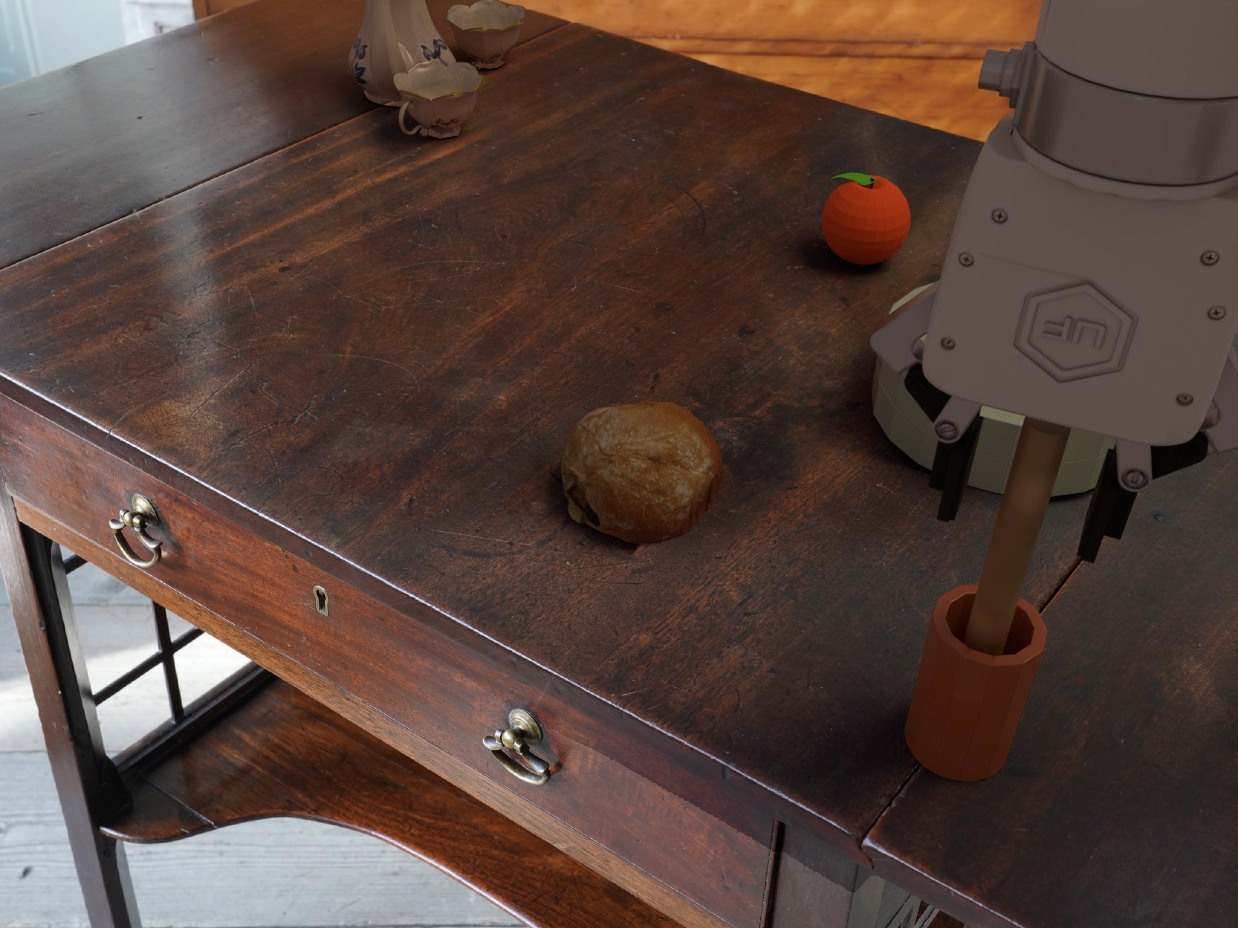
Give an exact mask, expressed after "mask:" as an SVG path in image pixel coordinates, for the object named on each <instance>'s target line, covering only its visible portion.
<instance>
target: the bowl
mask: <svg viewBox="0 0 1238 928" xmlns="http://www.w3.org/2000/svg"><path fill="white" fill-rule="evenodd" d="M935 282H936V281H935ZM935 282H931V283H928V284H926V285H921V286H919V287H916V288H914V289H913V290H911V291H910V292H909V293H907V294H906V295H904V296H903V297H901V298H900V299H899V300H897V301H896V302H895V303H893V304H892V305H891V308H890V310H889V312H888V314H887V315H889V314H890V313H892V312H893V311H895V310H896V309H897V308H899V307H900V306H902V305H903V304H905V303H906V302H908V301H909V300H910V299H912V298H913V297H915V296H916V295H918V294H919V293H920V292H922V291H923V290H925V289H926V288H928V287H929V286H931V285H932V284H933V283H935ZM926 336H927V334H926V335H924V336H923V337H921V338H920V339H921V340H922V342H923V343H924V344H925V342H926ZM946 342H947V341H946ZM950 344H951V343H950ZM871 399H872V400H871V401H872V402H871V403H872V411H873V413H872V414H873V416H874V417H875V419H876V420H877V422H878V424H879V426H880V427H881V429H882V430H883V432H884V434H885V435H886V437H887V439H888V440H889V441H890V442H891V443H892V444H894V445H895V446H896V447H897V448H898V449H899V450H900V451H902V452H903V453H904V454H906V456H908V457H909V458H910V459H912V461H914V462H915V463H916V464H918V465H920V466H921V467H923V468H925V469H928V470H930V471H932V466H933V462H934V457H935V453H936V448H937V444H938V440H937V439H936V438H935V437H934V435H933V433H932V426H933V423H932V422H931V420H930V419H929V418H928V416H927V415H926V414H925V413H924V411H923V410H922V409H921V407H920V406H919V405H918V404H917V402H916V401H915V400H914V399H913V397H912V396H911V395H910V393H909V392H908V391H907V389H906V388H905V385H904V380H903V379H902V378H901V376H900V375H899V374H898V375H896V374H895V373H894V372H893V371H892V370H891V369H890V367H889V366H888V365H887V364H886V363H885V362H884V361H883V360H882V359H881V358H880V357H879V356H878V355H877V356H876V361H875V368H874V374H873V380H872V385H871ZM980 416H984V420H983V424H982V428H981V432H980V436H979V440H978V444H977V448H976V452H975V456H974V460H973V464H972V468H971V472H970V476H969V480H968V483H967V486H968V487H973V488H976V489H980V490H984V491H988V492H991V493H995V494H1000V495H1004V491H1005V488H1006V484H1007V480H1008V477H1009V473H1010V469H1011V466H1012V462H1013V458H1014V455H1015V451H1016V447H1017V444H1018V440H1019V436H1020V433H1021V429H1022V425H1023V422H1024V418H1025V416H1022V415H1018V414H1014V413H1010V412H1006V411H1002V410H998V409H994V408H991V407H987V406H982V408H981V412H980ZM1115 443H1116V439H1115V438H1111V437H1107V436H1103V435H1099V434H1094V433H1090V432H1086V431H1082V430H1078V429H1074V428H1071V431H1070V435H1069V438H1068V441H1067V444H1066V448H1065V451H1064V454H1063V458H1062V461H1061V464H1060V467H1059V471H1058V474H1057V477H1056V480H1055V484H1054V487H1053V490H1052V493H1051V497H1058V496H1066V495H1073V494H1079V493H1086V492H1088V491H1091V490H1094V489H1095V487H1096V484H1097V481H1098V478H1099V475H1100V472H1101V469H1102V466H1103V463H1104V460H1105V457H1106V454H1107V451H1108V448H1110V449H1114V446H1115ZM1051 497H1050V498H1051Z"/></svg>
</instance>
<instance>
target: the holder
mask: <svg viewBox="0 0 1238 928" xmlns="http://www.w3.org/2000/svg"><path fill="white" fill-rule="evenodd" d="M978 586H979V583H978V584H977V583H975V584H964V585H957V586H955V587H954V588H952V589H951V590H949V591H947V592H945V593H943V594H942V595H941V596H939V597H938V598H937V601H936V603H935V606H934V610H933V612H932V615H931V619H930V623H929V627H928V632H927V634H926V635H927V636H926V640H925V644H924V648H923V651H922V656H921V660H920V663H919V668H918V672H917V675H916V679H915V684H914V687H913V688H914V689H913V693H912V696H911V700H910V705H909V709H908V712H907V717H906V722H905V725H904V728H903V729H904V730H903V733H904V736H905V739H906V744H907V747H908V749H909V750H910V753H911V754H912V755H913V757H914V758H915V759H916V760H917V761H918V763H920V764H921V765H922V766H923V767H924V768H925V769H927V770H929V771H930V772H932V773H934V774H935V775H937V776H939V777H942V778H945V779H948V780H951V781H957V782H977V781H982V780H985V779H988V778H990V777H992V776H993V775H995V774H996V773H997V772H999V771H1000V769H1002V768H1003V767H1005V765H1006V763H1007V760H1008V757H1009V755H1010V750H1011V748H1012V744H1013V742H1014V739H1015V735H1016V733H1017V730H1018V727H1019V723H1020V721H1021V718H1022V715H1023V712H1024V710H1025V706H1026V703H1027V700H1028V696H1029V695H1030V691H1031V688H1032V686H1033V682H1034V680H1035V677H1036V674H1037V670H1038V668H1039V665H1040V662H1041V659H1042V655H1043V653H1044V649H1045V645H1046V641H1047V637H1048V633H1049V632H1048V628H1047V626H1046V624H1045V621H1044V620H1043V618H1042V616H1041V613H1040V612H1039V610H1038V609H1037V607H1036V606H1034V605H1033V604H1031V603H1030V602H1029V601H1028V600H1026V599H1025V598H1023V597H1022V596H1020V598H1019V601H1018V604H1017V608H1016V611H1015V614H1014V617H1013V621H1012V624H1011V627H1010V630H1009V634H1008V637H1007V640H1006V643H1005V647H1004V650H1003V653H1002V655H999V656H992V655H988V654H985V653H982V652H979V651H976V650H972V649H970V648H968V647H967V646H966V645H965V644H963V641H964V637H965V634H966V630H967V626H968V623H969V619H970V615H971V612H972V608H973V604H974V601H975V597H976V593H977V590H978Z"/></svg>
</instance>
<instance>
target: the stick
mask: <svg viewBox="0 0 1238 928" xmlns="http://www.w3.org/2000/svg"><path fill="white" fill-rule="evenodd" d="M1070 431H1071V428H1070V427H1066V426H1062V425H1058V424H1054V423H1050V422H1046V421H1042V420H1038V419H1034V418H1030V417H1026V416H1025V418H1024V422H1023V425H1022V429H1021V433H1020V436H1019V440H1018V444H1017V447H1016V451H1015V455H1014V458H1013V462H1012V466H1011V469H1010V473H1009V477H1008V480H1007V484H1006V488H1005V491H1004V494H1002V499H1001V503H1000V505H999V510H998V512H997V513H998V514H997V517H996V520H995V525H994V528H993V532H992V536H991V539H990V542H989V546H988V550H987V554H986V558H985V560H984V565H983V568H982V572H981V576H980V580H979V582H978V584H979V586H978V590H977V593H976V597H975V601H974V604H973V608H972V612H971V615H970V619H969V623H968V626H967V630H966V634H965V637H964V641H963V644H965V645H966V646H967V647H968V648H970V649H972V650H976V651H979V652H982V653H985V654H988V655H992V656H999V655H1002V653H1003V650H1004V647H1005V643H1006V640H1007V637H1008V634H1009V630H1010V627H1011V624H1012V621H1013V617H1014V614H1015V611H1016V608H1017V604H1018V601H1019V598H1020V597H1021V594H1022V591H1023V588H1024V585H1025V582H1026V578H1027V575H1028V571H1029V568H1030V564H1031V560H1032V559H1033V555H1034V551H1035V549H1036V546H1037V542H1038V539H1039V536H1040V532H1041V529H1042V526H1043V523H1044V519H1045V516H1046V513H1047V510H1048V507H1049V502H1050V500H1051V493H1052V490H1053V487H1054V484H1055V480H1056V477H1057V474H1058V471H1059V467H1060V464H1061V461H1062V458H1063V454H1064V451H1065V448H1066V444H1067V441H1068V438H1069V435H1070Z"/></svg>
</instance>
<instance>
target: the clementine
mask: <svg viewBox="0 0 1238 928" xmlns="http://www.w3.org/2000/svg"><path fill="white" fill-rule="evenodd" d="M835 179H846V180H845V181H844V182H841V184H840V185H839V186H837V188H835V189H834V190H833V191H832V192H831V193H830V195H829V197H828V198H827V200H826V202H825V204H824V206H823V210H822V214H821V228H822V229H821V230H822V234H823V236H824V239H825V242H826V243H827V245H828V246H829V248H830V249H831V250H832V252H833V253H834V254H835V255H836V256H837V257H839V258H840V259H843V260H844V261H846V262H848V263H851V264H855V265H861V266H862V265H863V266H867V265H874V264H878V263H880V262H884V261H885V260H887V259H889V258H890V257H892V256H893V255H894V254H896V253H897V252H898V251H899V250H900V248H901V247H902V246H903V244H904V243H905V241H906V239H907V237H908V234H909V231H910V228H911V220H912V219H911V217H912V216H911V210H910V207H909V202H908V199H907V197H905V195H904V193H903V192H902V190H901V189H900V188H899V187H898V186H897V185H895V184H894V183H893V182H891V181H890V180H888V179H886V178H885V177H882V176H878V175H873V174H872V175H871V174H870V175H869V174H865V173H860V172H846V173H841V174H837V175H834V176H833V177H831V178H829V179H828V180H827V181H826V182H824V183H823V185H822V187H821V188H820V190H819V191H820V192H822V190H823V189H824V187H825V186H826V185H827V184H828V182H830V181H831V180H835Z"/></svg>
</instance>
